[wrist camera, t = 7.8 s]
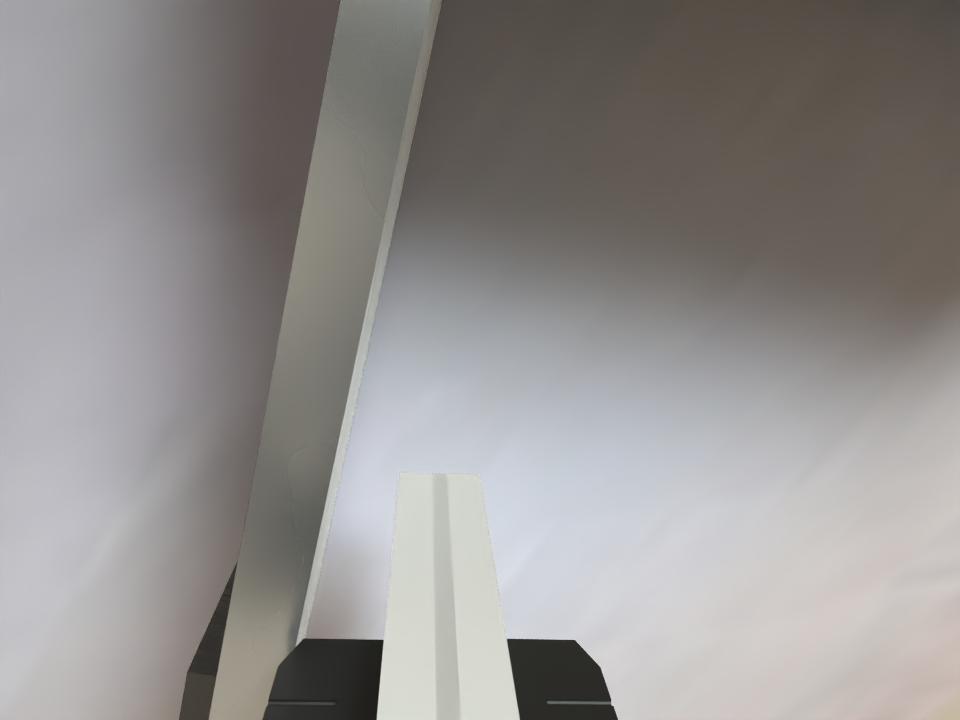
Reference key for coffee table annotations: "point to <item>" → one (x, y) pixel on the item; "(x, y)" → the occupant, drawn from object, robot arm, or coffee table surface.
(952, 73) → the coffee table surface
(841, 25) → the coffee table surface
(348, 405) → the side door
